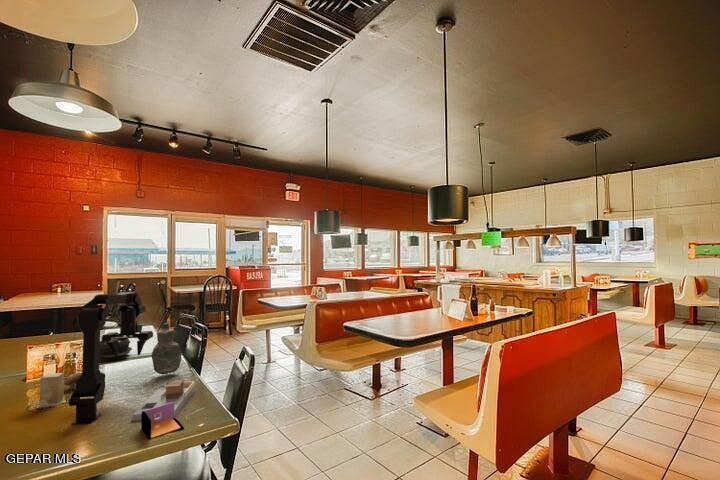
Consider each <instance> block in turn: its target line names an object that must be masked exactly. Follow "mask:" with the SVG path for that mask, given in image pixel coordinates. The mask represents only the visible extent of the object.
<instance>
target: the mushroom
mask: <svg viewBox="0 0 720 480" xmlns="http://www.w3.org/2000/svg"><path fill="white" fill-rule="evenodd" d="M81 374H82V372H75V373H72V374H70V375H68V376H67V377H66V378H65V379H64V386H70V387H69V389H70V390H74V389H75V387H76V382H77V380H78V379H79V377H80V376H81Z"/></svg>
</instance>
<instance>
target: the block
mask: <svg viewBox="0 0 720 480" xmlns="http://www.w3.org/2000/svg"><path fill="white" fill-rule="evenodd" d="M184 382H185V380H175V381H170V382H169V383H167V384H166V385H165V388H166V399H175V398H180V397H181V396H182V394H183V393H184Z"/></svg>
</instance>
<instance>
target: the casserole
mask: <svg viewBox="0 0 720 480" xmlns="http://www.w3.org/2000/svg"><path fill="white" fill-rule="evenodd" d="M130 344H131V340H130V338H123V339H119V341H118V356H117V357H120V356H125V355H128V354H129V353H130V352H131V351H132V350H133V347H131V346H130ZM99 358H106V359H107V358H108V359H109V358H116V356H115V355H114V353H113V351H112V350H111V348H110V347H109V346H108V344H105V342H102V340H100V353H99Z"/></svg>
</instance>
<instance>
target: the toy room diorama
mask: <svg viewBox="0 0 720 480" xmlns="http://www.w3.org/2000/svg"><path fill="white" fill-rule="evenodd" d="M156 414H160V417H158V418H155V415H156ZM140 421H141V427H140V428H141V431H142V432H143V433H144V435H145V436H146V437H147V439H148V440H152V439H155V438H160V437H162V436H165V435H168V434H169V435H170V434H171V433H175V432H181V431H183V430H185V426H183V424H182V423H181V422H180V421H179V420H178V419H177V418H176V417H174V402H171V403H168V404H164V405H161V406H158V407H154V408H151V409H148V410H144V411H142V414H141V420H140Z"/></svg>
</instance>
